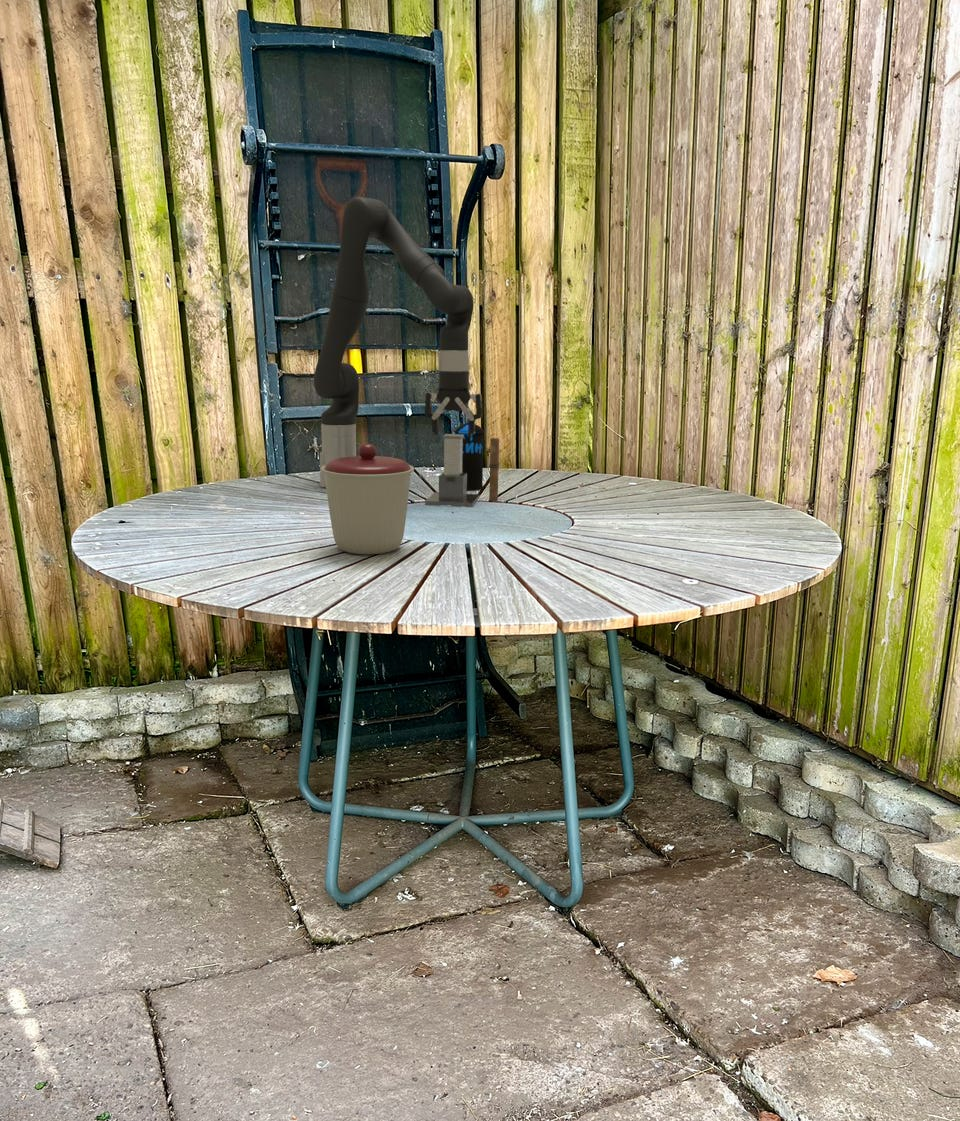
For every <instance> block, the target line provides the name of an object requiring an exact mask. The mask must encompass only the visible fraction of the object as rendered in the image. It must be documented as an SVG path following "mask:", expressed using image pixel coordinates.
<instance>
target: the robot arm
mask: <svg viewBox="0 0 960 1121" xmlns="http://www.w3.org/2000/svg"><path fill="white" fill-rule="evenodd" d="M369 239H375V240H376V241H378V242H380V243H382V244H383V245H384V246H386V247H387V248H388V249H389V250H390V251H391V252H392V253H393V254H394V256H395V258H396V260H397V262H398V264H399V266H400V268H401V269H402V270H403V272H404V273H405V274H406V275H407V276H408V277H409V279H411V281H413V283H415V284H416V286H418V287H419V288H420V289H421V290H422V291H423V293H424V295H425V296H426V297H427V299H428V300H429V301H430V303H431V304H432V306H433V307H434V308H435V309H436V310H438V311H439V312H440V313H442V314H444V315H447V320H446V324H445V325H443V326H442V327H441V328H440V331H439V355H438V391H437V392H436V393H434V392H433V393H432V392H426V394H425V400H424V404H425V405H424V416H425V417H426V418H429V419H431V423H432V424H431V427H432V429H431V430H432V433H434V436H438V435H439V434H440V419H439V417H441V414H443V412H444V411H446V412H451V411H454V412H460V411H462V412H463V414H465V416H466V415H467V417H468V418H469V421H468V436H472V434H474V432H475V424H476V420H478V419H481V418H482V417H483V399H482V396H483V395H482V393H477V394H475V393H473V394H471V392H470V357H469V356H470V355H469V330H470V326H471V323H472V318H473V312H474V298H473V294H472V291H471V290H470V289H469V288H468V287H467V286H464V285H460V284H459V285H458V284H452V283H451V281H449V280H448V279H447V278H446V273H445V271H444V269H443V268H442V267H441V266H440V265H439V264H438V263H437V262H436V261H435V260H434V259H433V258H432V257H431V256H430V255H429V254H428V253H427V252H426V251H424V250H423V249H422V247H420V246H419V245H418V244H417V242H415V241H414V239H413V238H412V237H411V236H410V235H409V234H408V232H407V231H406V229H405V228H404V227H403V226H402V225H401V223H400V222H399V221H398V219H397V218H396V217H395V215H394V214H393V212H392V211H391V210H390V208H389V207H388V206H387V205H386V204H385V203H384V202H383V201H381V200H379V199H376V198H370V197H363V196H354V197H352V198H351V199H349V201H348V202H347V203H346V205H345V207H344V210H343V214H342V221H341V233H340V243H339V245H340V246H339V255H338V261H337V267H336V272H335V281H334V284H333V285H334V286H333V290H332V293H331V298H330V299H331V301H330V304H329V313H328V319H327V323H326V327H325V332H324V338H323V341H322V342H323V343H322V345H321V349H320V353H319V356H318V360H317V362H316V367H315V370H314V376H313V387H314V390H315V392H316V395H318V396H319V398H321V399H329V400H330V399H331V400H332V402H331V405H330V406H329V407H328V408H327V409H326V410H325V411H323V412H322V413H321V415H320V416H321V417H320V421H321V422H320V424H321V426H320V428H321V451H319V472H320V474H319V476H320V479H319V480H320V481H319V483H320V487H321V488H326V482H325V474H324V473H323V472H322V471H321V467H322V466H324V465H326V464H327V463H328V462H329V461H331V460H334V459H338V458H343V457H352V456H357V431H356V430H357V429H356V426H357V425H356V423H357V422H356V419H357V416H358V413H359V403H360V402H359V398H360V397H359V396H360V380H359V375H358V372H357V370H356V367H354V365H352V364H351V363H347V362H343V359H344V355H345V352H346V350H347V348H348V346H349V344H350V342H351V341H352V339H353V338H354V336H355V335H356V334H357V333H358V331H359V329H360V328H361V326H362V324H363V322H364V320H365V318H366V314H367V310H368V309H367V308H368V304H369V299H370V298H369V297H370V286H369V281H368V275H367V272H366V265H365V257H366V250H367V244H368V240H369ZM436 399H437V401H438V402H439V403H440V405H439V406H438V407H437V408H436V410H435V411H434V413H433V412H432V408H433V402H435V400H436ZM470 400H472V402H473V403H474V404H475V412H476V413H475V414H474V413H473V412H472V410H471V408H470V406H469V405H468V403H469V401H470Z"/></svg>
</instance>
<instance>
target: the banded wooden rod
mask: <svg viewBox="0 0 960 1121" xmlns="http://www.w3.org/2000/svg"><path fill="white" fill-rule="evenodd" d="M489 440H490V442H489V443H490V445H489V448H490V449H489V451H490V452H489V453H490V455H489V489H488V490H489V492H488V494H489V496H488V497H489V498H488V501H489V502H498V499H499V468H500V467H499V466H500V460H499V459H500V438H499V437H491V438H490V439H489Z"/></svg>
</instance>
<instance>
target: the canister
mask: <svg viewBox="0 0 960 1121" xmlns="http://www.w3.org/2000/svg"><path fill="white" fill-rule="evenodd" d="M357 452H358V455H356V456H352V457H343V458H338V459H334V460H331V461H329V462H328V463H327V464H326V465H324V466H322V467H321V471H322V472H323V473H324V474H325V482H326V487H325V489H326V496H327V497H326V498H327V504H328V512H329V518H330V524H331V531H332V536H333V539H334V542H335V544H336V546H337V547H338V548H339V549H340V550H341V551H343V552H346V553H350V554H354V555H378V554H379V555H380V554H382V555H383V554H386V553H390V552H392V551H395V550H397V549H398V548H399V547H400V546H401V544H402V543H403V539H404V534H405V528H406V527H405V526H406V520H407V513H408V512H407V511H408V504H409V503H408V502H409V494H410V493H409V492H410V484H411V483H410V482H411V476H412V473H413V472H414V471H415V468H414V466H413V465H411V464H409V463H408V462H407V461H405V460H403V459H400V458H395V457H389V456H380V455H377V448H376V446H375V445H374V444H372V443H363V444H361V445H360V446H359V447H358V451H357Z"/></svg>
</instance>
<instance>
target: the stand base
mask: <svg viewBox="0 0 960 1121" xmlns="http://www.w3.org/2000/svg"><path fill="white" fill-rule="evenodd" d="M467 492H468V491H467V473H462V476H444V471H443V472H441V473H440V474H439V475H438V492H436V491H435V492H433V493H432V494H431V495H430V496H429V497H427V498H426V499H425V500H424V505H426V506H440V505H451V506H450V507H461V506H465V507H467V508H474V506H475V505H476V503H477V502H478V500H480V494H478V493H475V494H474V493H467Z"/></svg>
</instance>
